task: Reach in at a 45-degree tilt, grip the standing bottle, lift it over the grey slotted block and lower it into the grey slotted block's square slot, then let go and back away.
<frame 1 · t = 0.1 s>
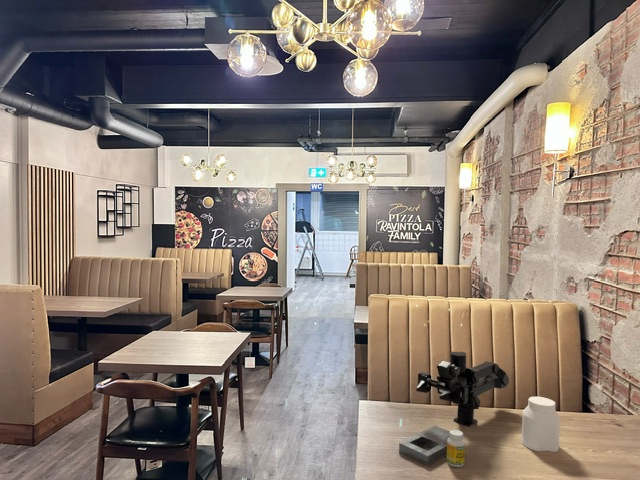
hand: (428, 393, 155), 17 cm above the table, tool horizontal, fingers open, 9 cm apart
grey slotted block: (429, 449, 150), on the table
jar: (539, 445, 156), on the table
supplement bottle: (455, 463, 142), on the table
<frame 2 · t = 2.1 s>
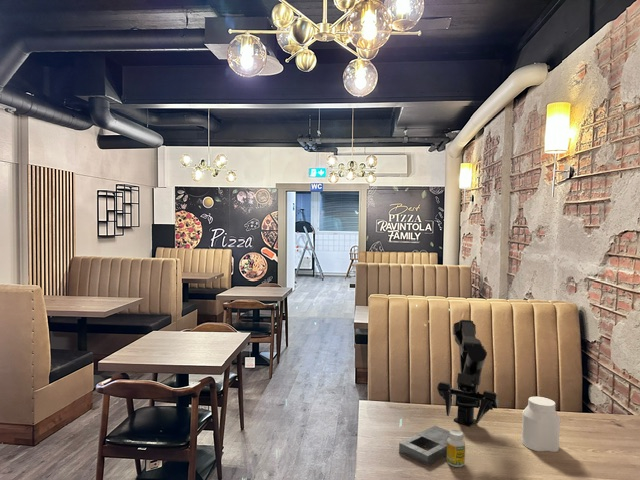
hand: (461, 419, 147), 12 cm above the table, tool tilted 45°, fingers open, 9 cm apart
nothing on the table moved.
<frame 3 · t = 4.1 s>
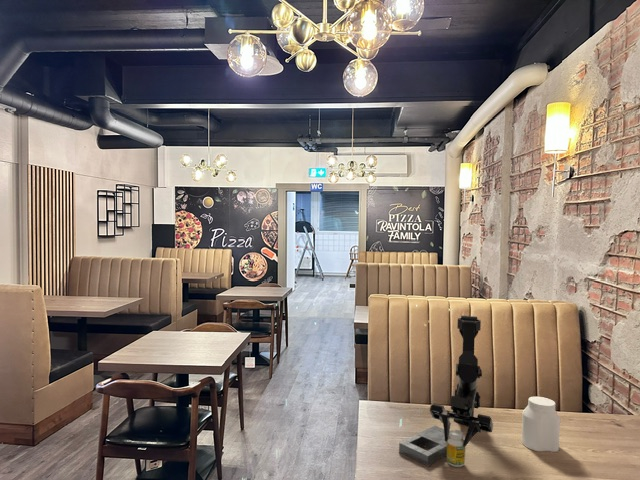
hand: (454, 443, 141), 7 cm above the table, tool tilted 45°, fingers closed on supplement bottle, 5 cm apart
supplement bottle: (455, 463, 142), on the table, touching gripper
everything else where it was.
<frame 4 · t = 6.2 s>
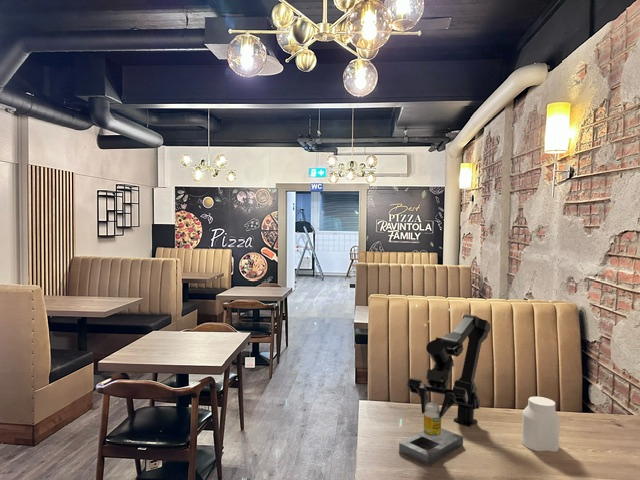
hand: (431, 415, 145), 13 cm above the table, tool tilted 45°, fingers closed on supplement bottle, 5 cm apart
supplement bottle: (432, 435, 147), point 6 cm above the table, touching gripper
everything else where it was.
when the fingers open (8 cm above the table, at t = 8.2 s): supplement bottle drops 2 cm, resting in grey slotted block.
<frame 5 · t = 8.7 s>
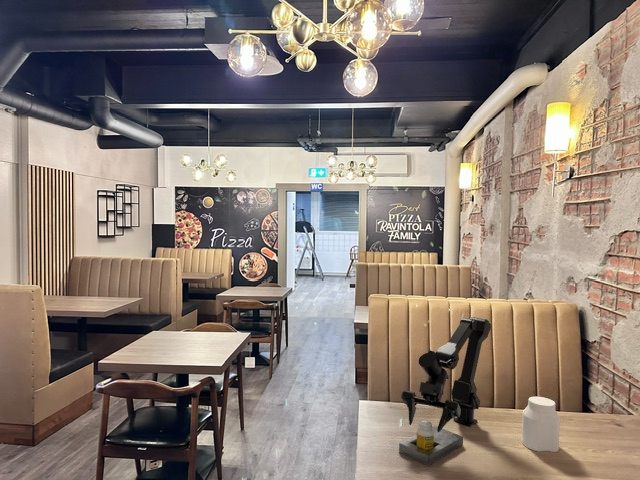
hand: (423, 428, 147), 9 cm above the table, tool tilted 45°, fingers open, 9 cm apart
supplement bottle: (424, 453, 148), resting in grey slotted block
everything else where it was.
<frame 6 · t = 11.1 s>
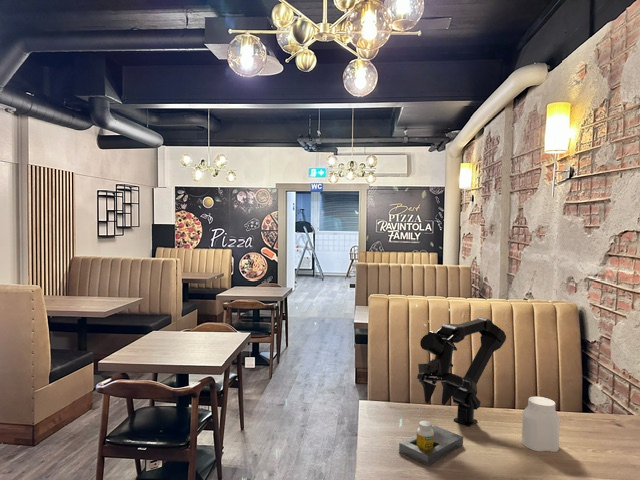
hand: (434, 403, 158), 12 cm above the table, tool tilted 30°, fingers open, 9 cm apart
nothing on the table moved.
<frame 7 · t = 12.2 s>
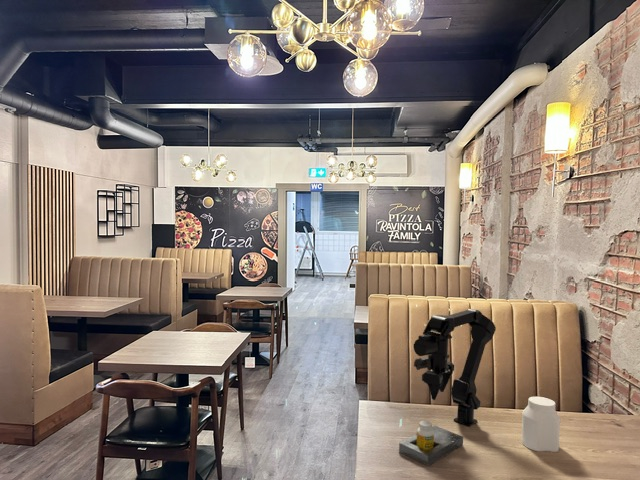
hand: (437, 395, 163), 13 cm above the table, tool pointing down, fingers open, 9 cm apart
nothing on the table moved.
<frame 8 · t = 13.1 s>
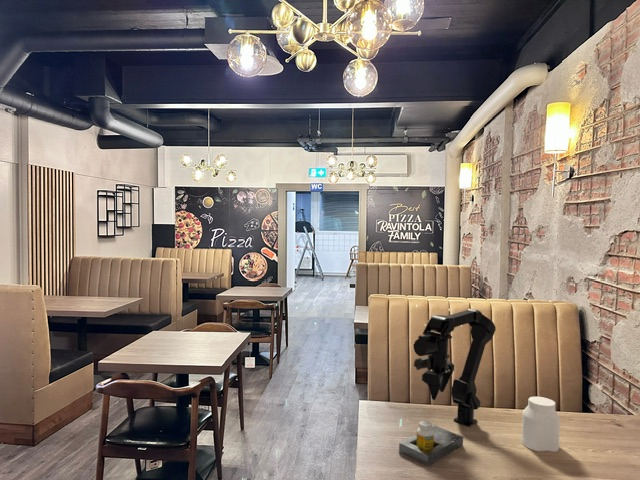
hand: (437, 395, 163), 13 cm above the table, tool pointing down, fingers open, 9 cm apart
nothing on the table moved.
at the end: supplement bottle 0.1 cm from the target spot on the grey slotted block, point 0.0 cm above the grey slotted block's base; supplement bottle tilted 0°; the gripper is holding nothing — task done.
